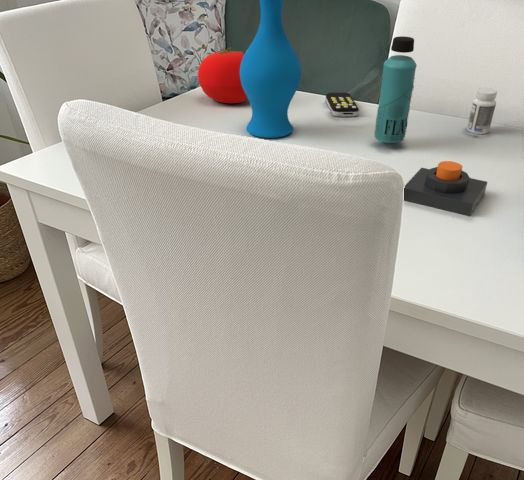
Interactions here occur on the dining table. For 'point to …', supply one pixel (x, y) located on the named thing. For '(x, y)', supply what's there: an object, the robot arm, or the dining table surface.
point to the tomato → (222, 76)
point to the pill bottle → (482, 111)
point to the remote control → (342, 105)
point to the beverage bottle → (396, 93)
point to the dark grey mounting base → (445, 191)
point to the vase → (270, 74)
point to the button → (449, 170)
